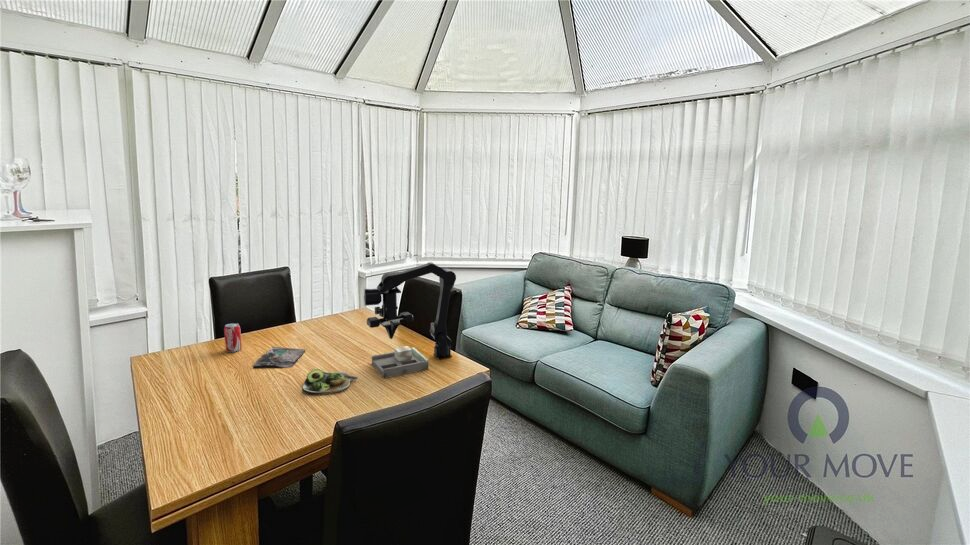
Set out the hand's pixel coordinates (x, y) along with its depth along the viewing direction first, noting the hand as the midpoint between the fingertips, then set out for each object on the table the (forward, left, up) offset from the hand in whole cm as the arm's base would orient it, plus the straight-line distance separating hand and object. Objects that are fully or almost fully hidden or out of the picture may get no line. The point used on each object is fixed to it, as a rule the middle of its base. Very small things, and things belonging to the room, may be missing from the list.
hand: (390, 338), depth 186 cm
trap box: (-2, +6, -11) cm, 12 cm away
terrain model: (+40, -25, -11) cm, 49 cm away
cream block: (-5, +2, -9) cm, 10 cm away
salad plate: (+29, +9, -11) cm, 32 cm away
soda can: (+58, -43, -11) cm, 73 cm away
